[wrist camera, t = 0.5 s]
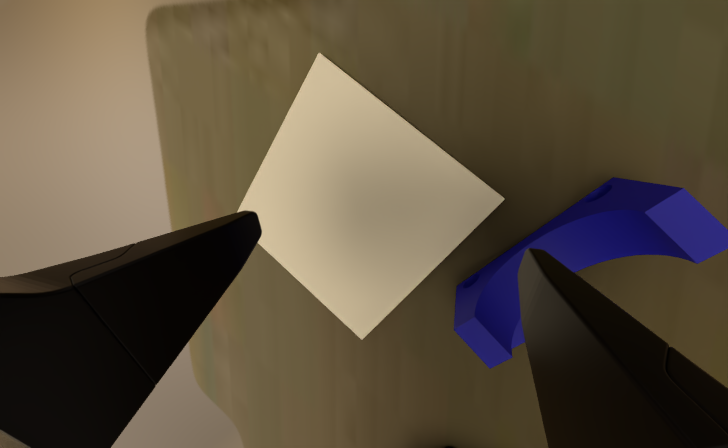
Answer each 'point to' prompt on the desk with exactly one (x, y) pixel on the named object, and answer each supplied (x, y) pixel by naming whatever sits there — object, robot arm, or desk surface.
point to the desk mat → (360, 199)
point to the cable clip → (585, 253)
